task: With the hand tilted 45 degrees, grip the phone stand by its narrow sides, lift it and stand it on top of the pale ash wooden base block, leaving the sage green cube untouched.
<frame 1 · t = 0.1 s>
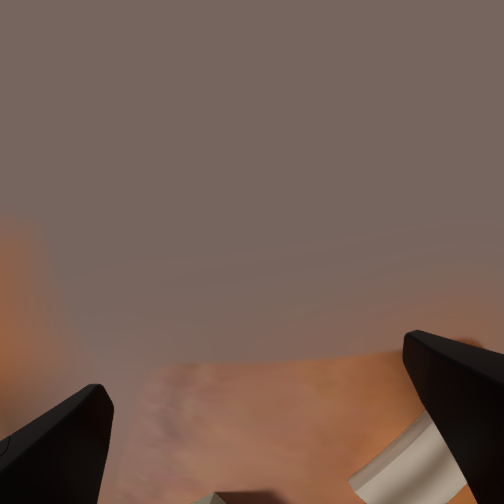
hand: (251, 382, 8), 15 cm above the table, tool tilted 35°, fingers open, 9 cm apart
base block: (422, 464, 18), on the table
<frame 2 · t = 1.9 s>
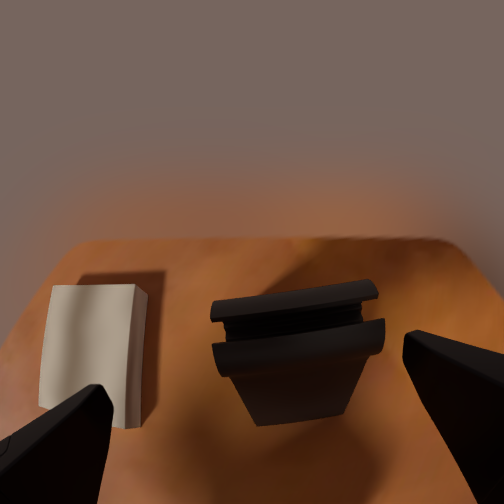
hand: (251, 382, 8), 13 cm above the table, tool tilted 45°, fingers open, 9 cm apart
base block: (97, 355, 22), on the table
phone stand: (292, 361, 21), on the table
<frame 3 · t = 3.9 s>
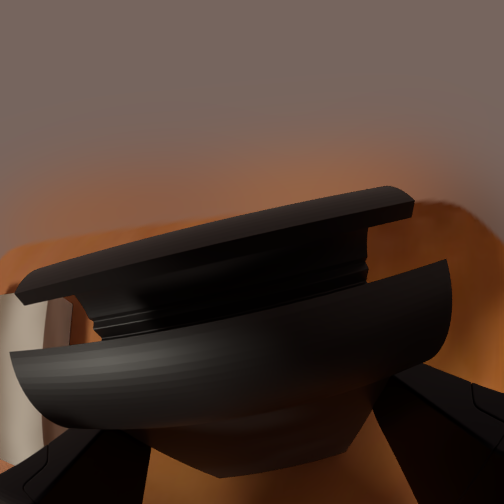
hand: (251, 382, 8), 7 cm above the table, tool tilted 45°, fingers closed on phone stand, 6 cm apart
base block: (22, 383, 14), on the table
phone stand: (263, 383, 14), on the table, touching gripper
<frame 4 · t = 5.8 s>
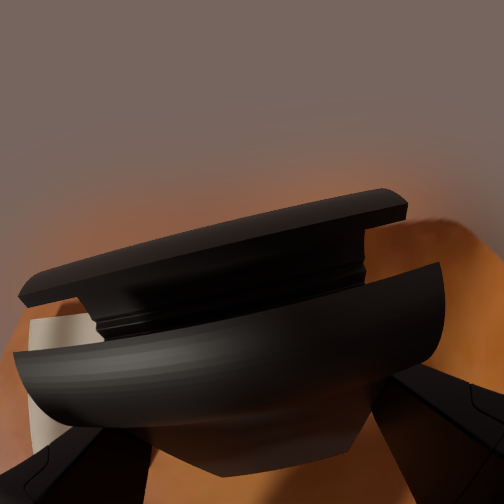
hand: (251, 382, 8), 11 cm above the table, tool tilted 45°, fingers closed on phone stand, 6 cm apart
base block: (88, 393, 18), on the table
phone stand: (266, 383, 14), point 4 cm above the table, touching gripper
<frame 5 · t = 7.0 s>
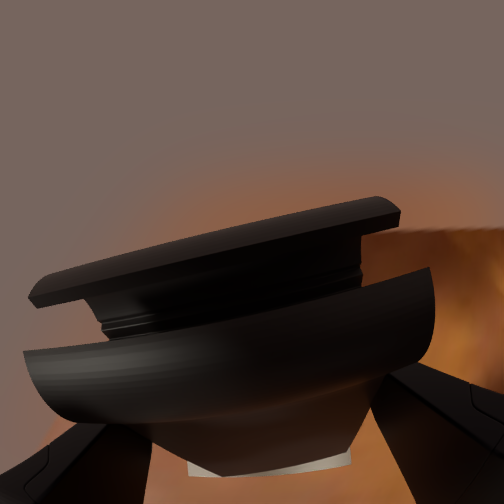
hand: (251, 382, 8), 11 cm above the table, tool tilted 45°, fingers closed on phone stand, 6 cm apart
base block: (264, 386, 18), on the table
phone stand: (266, 384, 14), point 4 cm above the table, touching gripper
when the fingers open (10 cm above the table, at t = 7.7 s): phone stand stays where it is, resting on base block.
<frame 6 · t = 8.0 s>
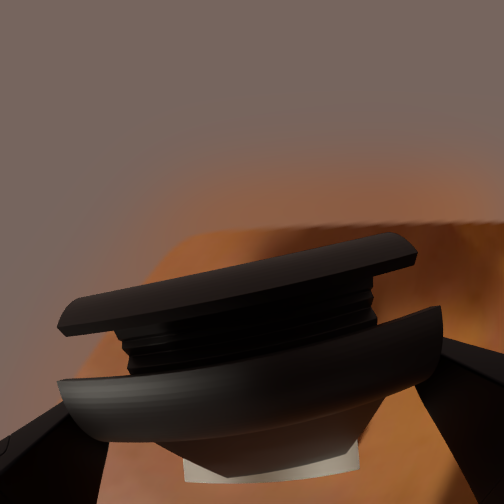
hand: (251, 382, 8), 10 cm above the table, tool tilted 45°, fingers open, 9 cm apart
base block: (266, 386, 17), on the table
phone stand: (269, 388, 14), point 2 cm above the table, touching base block
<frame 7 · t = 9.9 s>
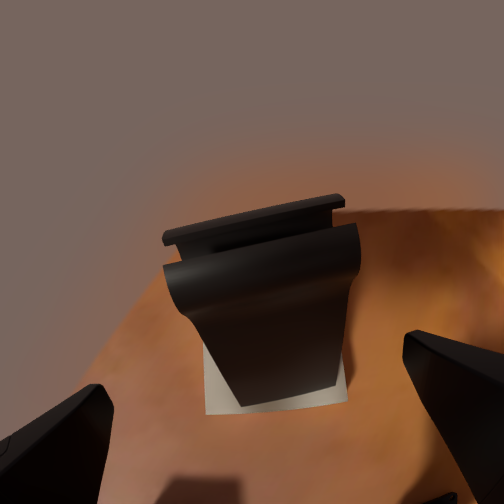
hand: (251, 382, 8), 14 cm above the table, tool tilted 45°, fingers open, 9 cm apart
base block: (271, 337, 22), on the table
phone stand: (274, 333, 20), point 2 cm above the table, touching base block
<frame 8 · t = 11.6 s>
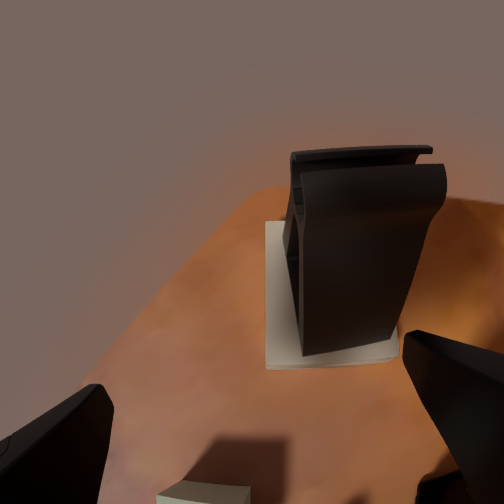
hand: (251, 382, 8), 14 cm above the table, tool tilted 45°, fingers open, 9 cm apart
base block: (325, 297, 23), on the table
phone stand: (333, 288, 21), point 2 cm above the table, touching base block
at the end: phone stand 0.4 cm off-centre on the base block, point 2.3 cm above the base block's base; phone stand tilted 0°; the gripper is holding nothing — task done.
